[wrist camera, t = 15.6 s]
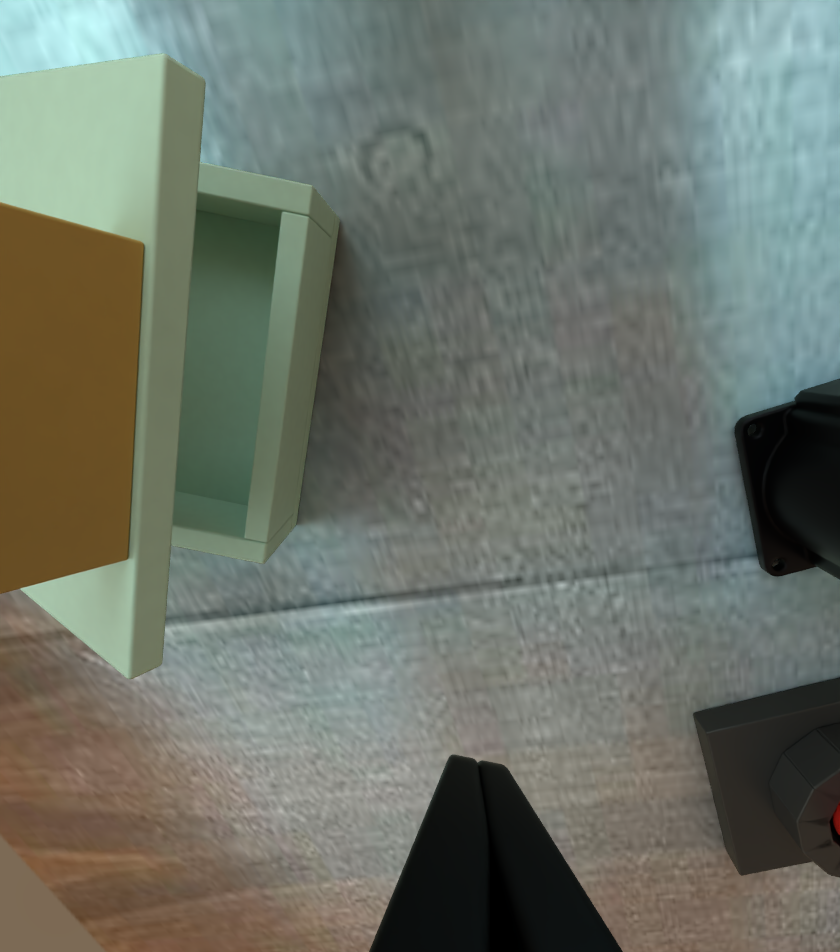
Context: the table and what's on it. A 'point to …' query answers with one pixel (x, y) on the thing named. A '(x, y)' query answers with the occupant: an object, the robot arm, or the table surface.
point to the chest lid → (95, 340)
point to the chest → (250, 360)
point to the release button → (837, 819)
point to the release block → (776, 777)
